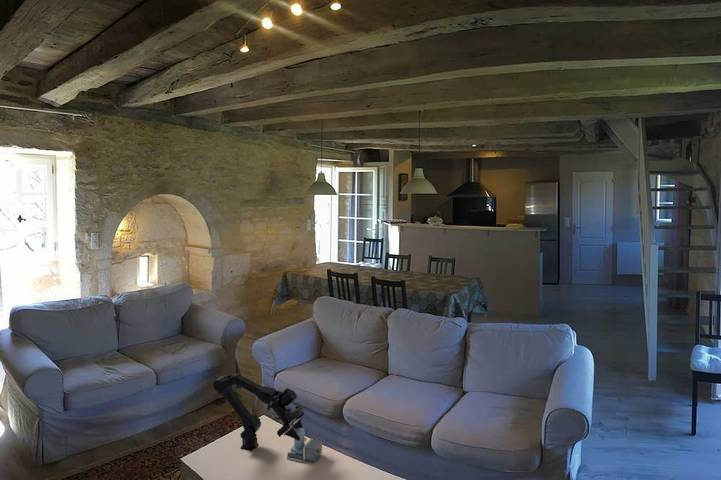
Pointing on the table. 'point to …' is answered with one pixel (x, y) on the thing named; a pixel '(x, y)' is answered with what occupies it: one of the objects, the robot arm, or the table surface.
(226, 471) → the table surface
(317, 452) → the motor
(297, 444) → the blue-grey knob on base
